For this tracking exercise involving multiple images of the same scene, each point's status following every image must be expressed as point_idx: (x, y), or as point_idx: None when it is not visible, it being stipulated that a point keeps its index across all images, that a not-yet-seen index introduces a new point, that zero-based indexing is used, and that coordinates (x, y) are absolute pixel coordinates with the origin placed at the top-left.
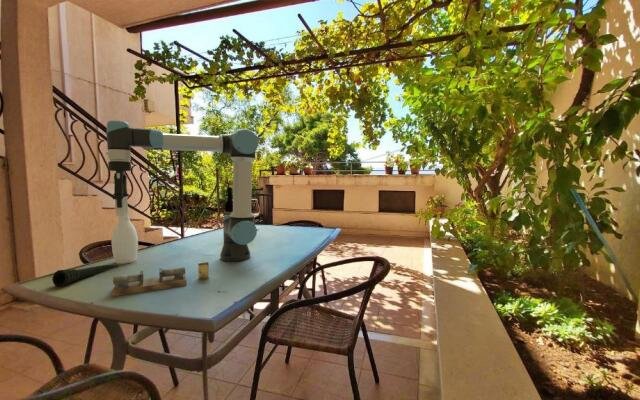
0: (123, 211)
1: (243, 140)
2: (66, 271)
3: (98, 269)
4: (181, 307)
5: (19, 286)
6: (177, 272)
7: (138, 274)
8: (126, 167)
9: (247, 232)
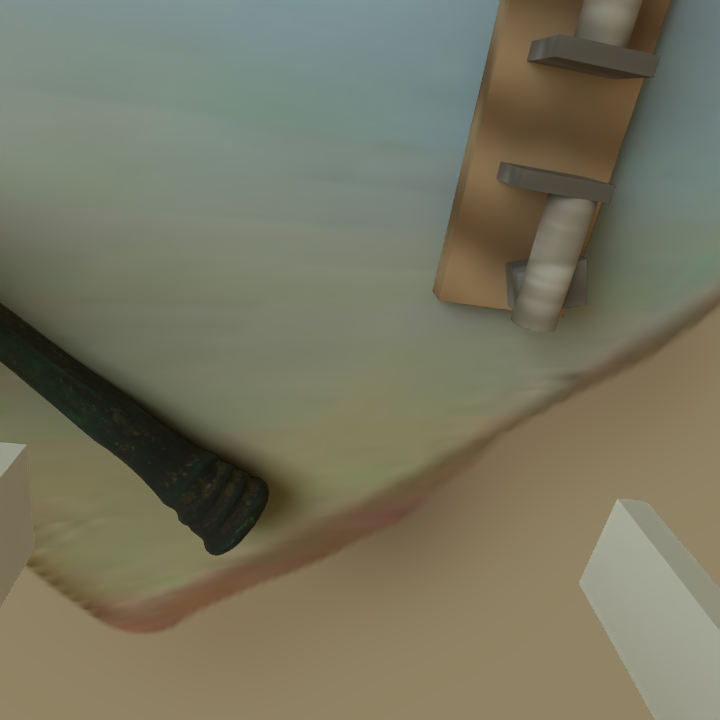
0: (687, 564)
1: None
2: (232, 519)
3: (74, 374)
4: None
5: (148, 609)
6: None
7: (589, 206)
8: None
9: None
